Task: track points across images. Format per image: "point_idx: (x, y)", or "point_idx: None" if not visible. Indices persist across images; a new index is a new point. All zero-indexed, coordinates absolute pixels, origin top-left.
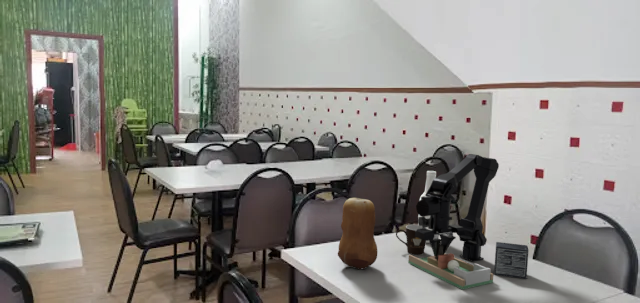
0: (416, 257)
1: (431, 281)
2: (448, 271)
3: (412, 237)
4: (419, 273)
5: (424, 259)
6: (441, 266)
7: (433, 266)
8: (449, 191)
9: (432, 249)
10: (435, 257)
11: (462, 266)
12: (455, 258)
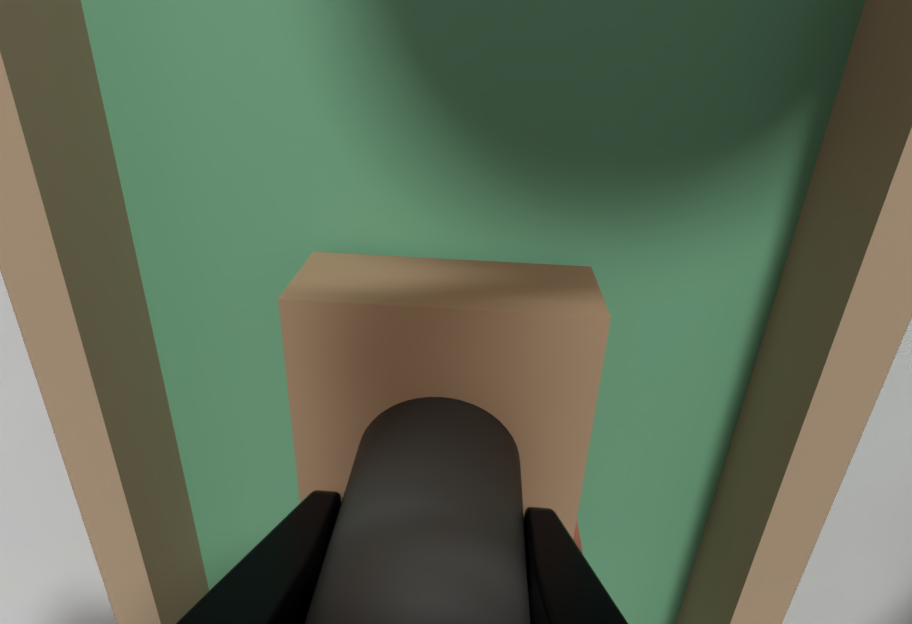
0: (20, 160)
1: (57, 607)
2: None
3: None
4: (24, 403)
5: (407, 45)
6: None
7: (121, 610)
8: None
9: (211, 593)
10: (350, 474)
11: (685, 617)
12: (778, 554)
